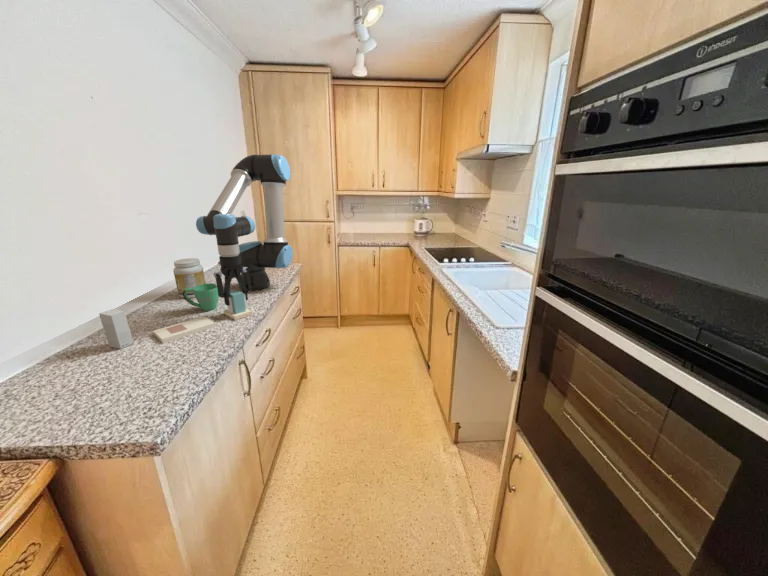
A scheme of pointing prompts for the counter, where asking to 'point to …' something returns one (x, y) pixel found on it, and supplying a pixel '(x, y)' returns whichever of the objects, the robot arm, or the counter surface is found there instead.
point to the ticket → (184, 328)
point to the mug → (203, 296)
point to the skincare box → (116, 328)
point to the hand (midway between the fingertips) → (238, 309)
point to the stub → (237, 306)
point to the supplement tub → (188, 275)
